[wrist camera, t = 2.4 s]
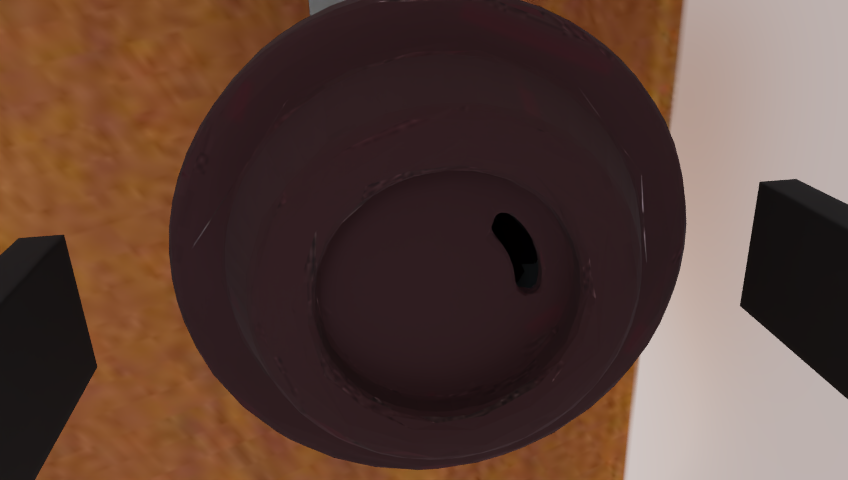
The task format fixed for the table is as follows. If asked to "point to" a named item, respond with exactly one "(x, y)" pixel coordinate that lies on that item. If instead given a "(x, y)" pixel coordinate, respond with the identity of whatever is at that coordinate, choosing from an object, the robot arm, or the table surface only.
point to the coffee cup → (427, 229)
